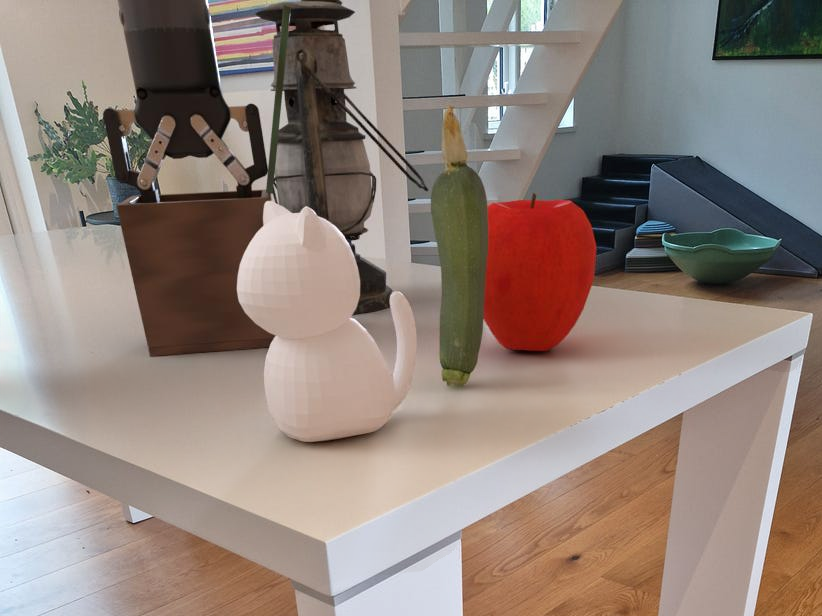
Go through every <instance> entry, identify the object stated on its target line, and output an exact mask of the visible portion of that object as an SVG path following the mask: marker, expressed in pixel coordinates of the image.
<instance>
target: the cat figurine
mask: <svg viewBox="0 0 822 616" xmlns="http://www.w3.org/2000/svg"><path fill="white" fill-rule="evenodd" d="M278 204H279V203H278ZM278 204H276V203H275V201H273V200H272V201H266V203H265V204H264V210H263V224H264V226H263V227H262V228H261V229H260V230H259V231H258V232H257V233H256V234H255V236H254V237H253V239H252V240H251V242H250V243H249V245H248V247H247V249H246V251H245V253H244V255H243V258H242V260H241V263H240V267H239V272H238V278H237V294H238V300H239V303H240V304H241V306H242V308H243V310H244V311H245V313H246V314H247V315H248V316H249V317H250V318H251V319H252V320H253V321H254V323H256V324H257V325H258V326H260V327H261V328H263V329H264V330H266V331H267V332H269V333H271V334H273V335H276V336H275V337H274V339H273V341H272V342H271V344H270V347H268V350H267V352H266V356H265V360H264V361H265V362H264V366H263V367H264V368H263V385H264V386H263V387H264V394H265V402H266V407H267V409H268V412H269V415H270V417H271V419H272V421H273V423H274V425H275V427H276V428H277V429H278V430H280V431H281V432H282V433H283V434H284V435H286V436H287V437H289V438H291V439H294V440H296V441H299V442H305V443H313V442H324V441H331V440H338V439H344V438H350V437H355V436H360V435H365V434H370V433H374V432H376V431H378V430H379V429H380V428H382V427H383V426H384V425H385V424H386V423H387V422H388V421H389V420H390V417H391V416H392V413H393V412H394V411H395V410H396V409H397V408H398V407H399V406H400V405H401V404H402V403H403V401H404V400H405V398H406V396H407V395H408V392H409V390H410V388H411V384H412V381H413V377H414V372H415V367H416V359H417V351H418V350H417V341H418V340H417V327H416V321H415V316H414V313H413V310H412V307H411V305H410V303H409V300H408V299H407V298H406V297H405V295H404V294H403V293H402V292H400V291H398V290H395V291H393V292H392V294H391V295H390V307H389V308H390V312H391V317H392V321H393V325H394V330H395V335H396V337H395V338H396V356H395V365H394V369H393V374H392V373H391V370H390V368H389V365H388V363H387V361H386V359H385V357H384V356H383V353H382V352H381V350H380V348H379V347H378V345H377V343H376V341H375V340H374V338H373V337H372V335H371V334H370V333H369V331H368V330H367V329H366V328H365V327H364V326H363V325H361V324H360V322H359V321H357V320H356V319H355V318H352V316H353V315H354V314H353V313H354V311H355V309H356V307H357V304H358V301H359V297H360V278H359V272H358V267H357V264H356V260H355V257H354V254H353V252H352V250H351V248H350V245H349V244H348V242H347V240H346V239H345V237H344V236H343V234H342V233H341V232H340V231H339V230H338V229H337V228H336V227H335V226H334V225H333V224H331V223H330V222H328V221H327V220H326V219H324V218H321V217H319V216H317V215H316V213H315V212H314V211H313V210H312V209H311V208H309V207H307V206H306V207H304V208H303V209H302V210H301V212H300V213H291V212H290V211H288V210H287V209H286V208H284V207H283V206H281V205H278Z"/></svg>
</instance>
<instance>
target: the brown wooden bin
mask: <svg viewBox="0 0 822 616" xmlns="http://www.w3.org/2000/svg"><path fill="white" fill-rule="evenodd" d="M252 194H253V198H238V196H237V190H229V191H228V190H224V191H206V192H203V191H201V192H183V193H161V194H159V199H160V202H156V203H143V202H142V197H141V194H140V195H139V194H138V195H131V196H130V197H128V198H126V199H125V200H123V201H121V202H119V203H117V204H116V206H115V207H116V210H117V215H118V219H119V225H120V228H121V234H122V237H123V242H124V246H125V251H126V256H127V260H128V264H129V269H130V274H131V278H132V282H133V287H134V291H135V296H136V300H137V304H138V305H137V306H138V309H139V314H140V318H141V323H142V326H143V327H142V328H143V332H144V337H145V340H146V344H147V350H148V354H149V357H159V356H171V355H173V356H174V355H185V354H199V353H200V354H201V353H213V352H225V351H226V352H227V351H238V350H239V351H240V350H251V349H252V350H253V349H263V348H269V347H270V344H271V342H272V341H273V339H274V337H275V336H276V335H273V334H271V333H269V332H267V331H266V330H264V329H263V328H261V327H260V326H258V325H257V324H256V323H254V321H253V320H252V319H251V318H250V317H249V316H248V315H247V314H246V313H245V311H244V310H243V308H242V306H241V304H240V303H239V300H238V294H237V278H238V272H239V267H240V263H241V260H242V258H243V255H244V253H245V251H246V249H247V247H248V245H249V243H250V242H251V240H252V239H253V237H254V236H255V234H256V233H257V232H258V231H259V230H260V229H261V228H262V227H263V226H264V224H263V210H264V204H265V203H266V201H272V202H273V200H272V199H273V198H272V194H270V193H266V188H265V189H252Z"/></svg>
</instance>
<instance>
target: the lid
mask: <svg viewBox="0 0 822 616" xmlns="http://www.w3.org/2000/svg"><path fill="white" fill-rule="evenodd" d="M290 10H291V7H289V6H286V5H284V6H283V15H282V26H280V32H281V36H280V47H279V58H278V68H277V79H276V90H275V91H274V101H273V111H272V124H271V134H270V145H269V155H268V163H267V166H268V173H267V175H266V176H267V178H266V187H265V189H266V193H270V194H271V195H273V185H274V178H275V164H276V154H277V144H278V133H279V129H280V122H281V112H282V102H283V93H284V91H283V82H284V72H285V61H286V51H287V41H288V31H290V30H289V29H290V26H289V20H290Z"/></svg>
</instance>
